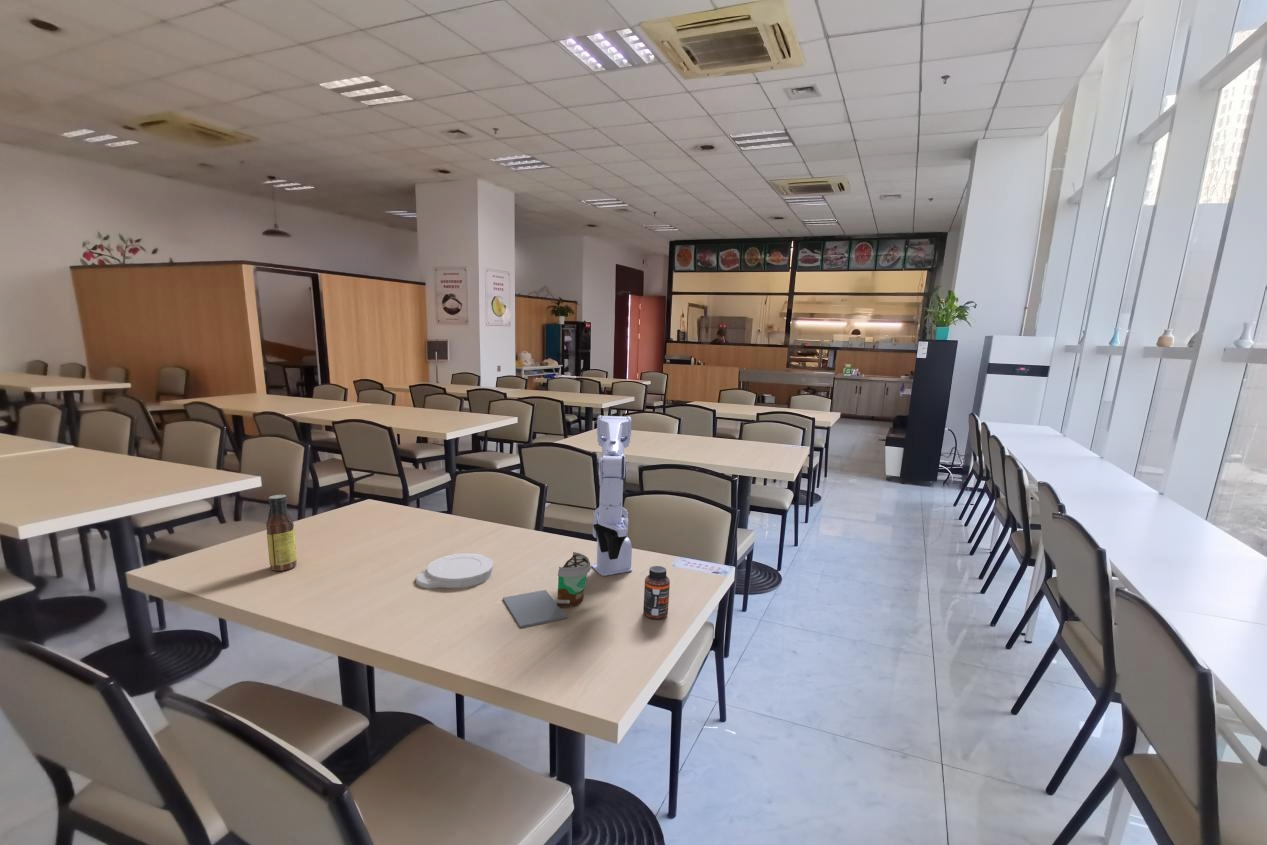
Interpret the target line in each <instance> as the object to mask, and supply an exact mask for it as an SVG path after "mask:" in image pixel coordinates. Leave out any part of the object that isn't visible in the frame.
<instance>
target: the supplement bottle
mask: <svg viewBox="0 0 1267 845" xmlns="http://www.w3.org/2000/svg"><path fill="white" fill-rule="evenodd" d="M648 572H649V573H648V575H647V576H646V577H645V579H644V592H643V593H644V595H643V606H642V607H643V610H642V611H643V614H644V616H646V617H647V618H650V619H652V620H660V619H661V618H662V619H664V618H666V617H667V616H668V614H669V605H670V604H669V602H670V586H671V585H670V583H671V581H670V577H668V576H667V568H666V567H664V566H660V565H653V566H650V567H649V571H648Z"/></svg>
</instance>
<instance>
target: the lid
mask: <svg viewBox="0 0 1267 845" xmlns="http://www.w3.org/2000/svg"><path fill="white" fill-rule="evenodd" d="M493 568H494V561H493V560H492V559H491V558H490V557H488V556H486V555H484V554H480V553H470V552H467V553H464V552H463V553H462V552H461V553H454V554H448V555H445V556H441V557H439V558H436V559H433V561H431V562H430V563H428V565H427V567H426V569H424V570H422V571H420V572H419V573H418V574H417V575H416V577H415V579H416V580H415V581H416V585H417V586H419V587H420V588H425V589H428V590H429V589H435V588H436V589H437V588H445V587H446V589H460V588H461V589H463V588H467V587H469V586H470V587H472V586H477V585H480V584H482V583H484V582H486V581H487V580H489V578H491V577H492V574H493ZM470 587H469V588H470Z"/></svg>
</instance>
